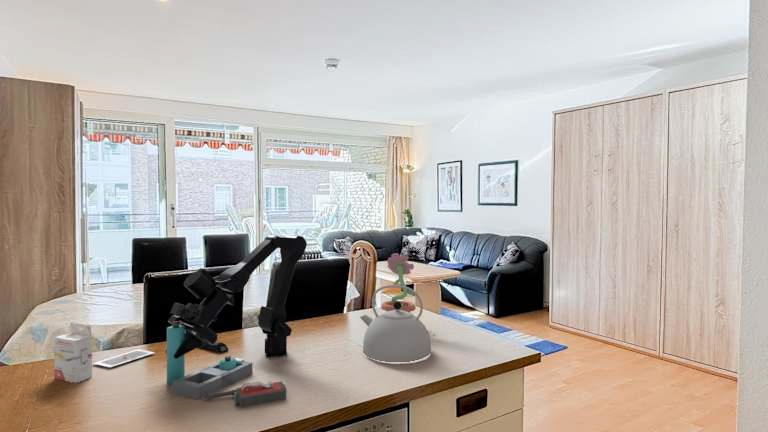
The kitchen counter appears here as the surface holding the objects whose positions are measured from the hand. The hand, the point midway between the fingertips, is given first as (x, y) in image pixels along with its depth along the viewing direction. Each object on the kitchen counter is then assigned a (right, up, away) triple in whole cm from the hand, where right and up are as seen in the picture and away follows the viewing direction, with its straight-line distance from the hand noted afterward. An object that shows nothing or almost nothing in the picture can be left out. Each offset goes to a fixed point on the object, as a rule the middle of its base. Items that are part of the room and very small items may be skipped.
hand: (170, 355), depth 122 cm
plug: (+1, -8, +1) cm, 8 cm away
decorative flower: (+64, -7, +60) cm, 88 cm away
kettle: (+61, -8, +29) cm, 68 cm away
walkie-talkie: (+23, -9, -9) cm, 26 cm away
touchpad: (-23, -8, +19) cm, 31 cm away
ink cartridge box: (-28, -7, +3) cm, 30 cm away
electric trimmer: (-1, -7, +31) cm, 32 cm away
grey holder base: (+11, -8, +1) cm, 14 cm away
